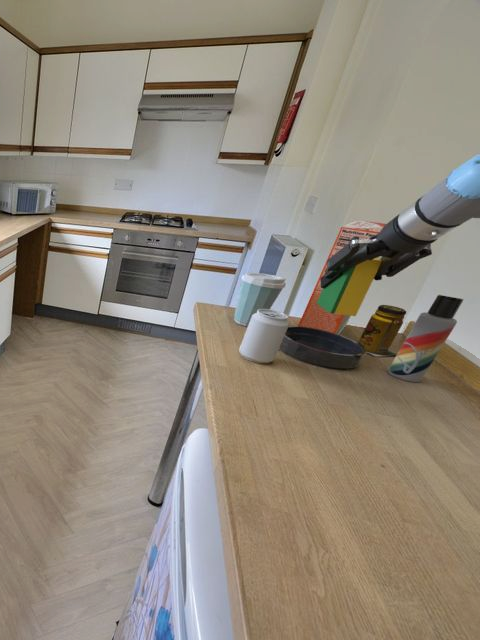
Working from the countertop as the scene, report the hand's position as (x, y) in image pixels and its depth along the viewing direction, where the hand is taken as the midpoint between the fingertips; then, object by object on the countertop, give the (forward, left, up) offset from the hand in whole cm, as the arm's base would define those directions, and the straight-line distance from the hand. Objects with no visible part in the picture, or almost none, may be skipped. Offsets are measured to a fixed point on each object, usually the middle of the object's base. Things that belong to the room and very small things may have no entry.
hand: (336, 284), depth 98 cm
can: (-5, +17, -18) cm, 25 cm away
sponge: (-4, +1, -5) cm, 6 cm away
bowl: (-1, -1, -18) cm, 18 cm away
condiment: (+3, -20, -18) cm, 28 cm away
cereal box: (+15, -15, -18) cm, 28 cm away
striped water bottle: (-11, -15, -18) cm, 26 cm away
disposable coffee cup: (+18, +5, -18) cm, 26 cm away
